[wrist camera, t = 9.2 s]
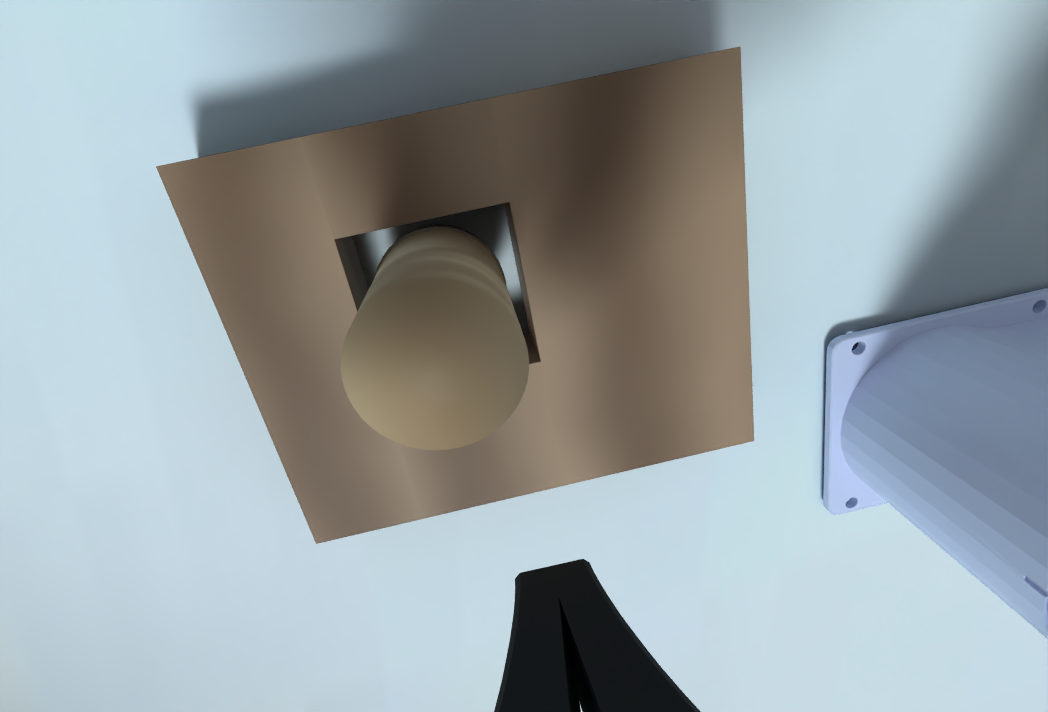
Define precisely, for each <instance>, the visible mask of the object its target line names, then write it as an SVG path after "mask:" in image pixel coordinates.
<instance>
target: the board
mask: <svg viewBox="0 0 1048 712" xmlns="http://www.w3.org/2000/svg"><path fill="white" fill-rule="evenodd" d="M156 168H157V170H158V172H159V175H160V177H161V179H162V182H163V184H164V186H165V189H166V191H167V193H168V196H169V198H170V200H171V203H172V205H173V208H174V210H175V212H176V215H177V217H178V219H179V222H180V224H181V226H182V229H183V231H184V233H185V236H186V238H187V240H188V243H189V245H190V248H191V250H192V252H193V255H194V257H195V259H196V262H197V264H198V266H199V269H200V271H201V273H202V276H203V278H204V281H205V283H206V285H207V288H208V290H209V292H210V295H211V297H212V299H213V302H214V304H215V306H216V309H217V311H218V313H219V316H220V318H221V321H222V323H223V325H224V328H225V330H226V332H227V335H228V337H229V339H230V342H231V344H232V346H233V349H234V351H235V354H236V356H237V358H238V361H239V363H240V365H241V368H242V370H243V372H244V375H245V377H246V379H247V382H248V384H249V386H250V389H251V391H252V394H253V396H254V398H255V401H256V403H257V405H258V408H259V410H260V412H261V415H262V417H263V419H264V422H265V424H266V427H267V429H268V431H269V434H270V436H271V438H272V441H273V443H274V445H275V448H276V450H277V452H278V455H279V457H280V459H281V462H282V464H283V467H284V469H285V471H286V474H287V476H288V478H289V481H290V483H291V485H292V488H293V490H294V492H295V495H296V497H297V500H298V502H299V504H300V507H301V509H302V511H303V514H304V516H305V518H306V521H307V523H308V525H309V528H310V530H311V532H312V535H313V537H314V540H315V542H316V544H318V543H322V542H326V541H330V540H335V539H339V538H343V537H347V536H352V535H356V534H360V533H364V532H369V531H373V530H377V529H381V528H386V527H390V526H394V525H398V524H403V523H407V522H411V521H415V520H420V519H424V518H428V517H432V516H437V515H441V514H445V513H449V512H454V511H458V510H462V509H466V508H471V507H475V506H479V505H483V504H488V503H492V502H496V501H500V500H505V499H509V498H513V497H517V496H522V495H526V494H530V493H534V492H539V491H543V490H547V489H551V488H556V487H560V486H564V485H568V484H573V483H577V482H581V481H585V480H590V479H594V478H598V477H602V476H607V475H611V474H615V473H619V472H624V471H628V470H632V469H636V468H641V467H645V466H649V465H653V464H658V463H662V462H666V461H670V460H675V459H679V458H683V457H687V456H692V455H696V454H700V453H704V452H709V451H713V450H717V449H721V448H726V447H730V446H734V445H738V444H743V443H747V442H751V441H754V423H753V394H752V366H751V337H750V308H749V280H748V251H747V222H746V194H745V165H744V136H743V108H742V79H741V50H740V47H736V48H731V49H726V50H721V51H716V52H711V53H707V54H702V55H697V56H692V57H687V58H682V59H677V60H673V61H668V62H663V63H658V64H653V65H648V66H643V67H638V68H634V69H629V70H624V71H619V72H614V73H609V74H604V75H600V76H595V77H590V78H585V79H580V80H575V81H570V82H565V83H561V84H556V85H551V86H546V87H541V88H536V89H531V90H526V91H522V92H517V93H512V94H507V95H502V96H497V97H492V98H488V99H483V100H478V101H473V102H468V103H463V104H458V105H453V106H449V107H444V108H439V109H434V110H429V111H424V112H419V113H415V114H410V115H405V116H400V117H395V118H390V119H385V120H380V121H376V122H371V123H366V124H361V125H356V126H351V127H346V128H342V129H337V130H332V131H327V132H322V133H317V134H312V135H307V136H303V137H298V138H293V139H288V140H283V141H278V142H273V143H268V144H264V145H259V146H254V147H249V148H244V149H239V150H234V151H230V152H225V153H220V154H215V155H210V156H205V157H200V158H195V159H191V160H186V161H181V162H176V163H171V164H166V165H161V166H157V167H156ZM502 203H504V206H505V211H506V216H507V221H508V226H509V231H510V236H511V241H512V246H513V251H514V256H515V261H516V266H517V271H518V276H519V281H520V286H521V291H522V296H523V301H524V306H525V311H526V316H527V322H528V327H529V332H530V334H528V335H523V336H524V338H525V342H526V346H527V349H528V357H529V374H528V381H527V385H526V388H525V391H524V394H523V396H522V398H521V401H520V403H519V404H518V406H517V408H516V409H515V411H514V412H513V413H512V415H511V416H510V417H509V418H508V420H507V421H506V422H505V423H504V424H502V425H501V426H500V427H499V428H498V429H497V430H495V431H494V432H493V433H491V434H490V435H488V436H486V437H485V438H483V439H481V440H479V441H477V442H474V443H472V444H470V445H466V446H463V447H459V448H454V449H448V450H423V449H417V448H412V447H408V446H405V445H401V444H399V443H396V442H394V441H392V440H390V439H388V438H386V437H384V436H383V435H381V434H379V433H378V432H377V431H375V430H374V429H373V428H371V427H370V426H369V425H368V424H367V423H366V422H365V421H364V420H363V419H362V418H361V417H360V415H359V414H358V413H357V412H356V410H355V409H354V407H353V405H352V404H351V402H350V400H349V398H348V396H347V394H346V391H345V388H344V385H343V381H342V375H341V353H342V347H343V343H344V340H345V337H346V334H347V332H348V330H349V328H350V326H351V324H352V322H353V320H354V318H355V316H356V314H357V312H358V310H359V308H360V306H361V304H362V302H363V300H364V298H365V296H366V294H367V292H368V290H369V287H368V284H367V281H366V278H365V274H364V271H363V268H362V265H361V261H360V258H359V255H358V252H357V248H356V245H355V242H354V239H353V235H357V234H362V233H367V232H371V231H376V230H381V229H385V228H390V227H395V226H399V225H404V224H409V223H413V222H418V221H423V220H428V219H432V218H437V217H442V216H446V215H451V214H456V213H460V212H465V211H470V210H474V209H479V208H484V207H488V206H493V205H498V204H502Z"/></svg>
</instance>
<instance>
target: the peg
mask: <svg viewBox="0 0 1048 712" xmlns="http://www.w3.org/2000/svg"><path fill="white" fill-rule="evenodd" d="M528 374H529V357H528V349H527V346H526V342H525V338H524V336H523V333H522V330H521V327H520V324H519V321H518V318H517V316H516V313H515V310H514V307H513V304H512V301H511V298H510V295H509V293H508V290H507V287H506V280H505V277H504V273H503V270H502V268H501V265H500V263H499V261H498V259H497V258H496V256H495V254H494V253H493V252H492V251H491V249H490V248H489V247H488V246H487V245H486V244H485V243H484V242H483V241H481V240H480V239H479V238H477V237H476V236H474V235H472V234H471V233H469V232H467V231H464V230H462V229H459V228H456V227H453V226H449V225H433V226H428V227H423V228H420V229H416V230H414V231H412V232H409V233H407V234H406V235H404V236H402V237H401V238H399V239H398V240H397V241H396V242H395V243H393V245H392V246H391V247H390V248H389V249H388V250H387V252H386V253H385V254H384V256H383V258H382V260H381V262H380V264H379V266H378V268H377V271H376V274H375V278H374V280H373V282H372V284H371V286H370V288H369V290H368V292H367V294H366V296H365V298H364V300H363V302H362V304H361V306H360V308H359V310H358V312H357V314H356V316H355V318H354V320H353V322H352V324H351V326H350V328H349V330H348V332H347V334H346V337H345V340H344V343H343V347H342V353H341V375H342V381H343V385H344V388H345V391H346V394H347V396H348V398H349V400H350V402H351V404H352V405H353V407H354V409H355V410H356V412H357V413H358V414H359V415H360V417H361V418H362V419H363V420H364V421H365V422H366V423H367V424H368V425H369V426H370V427H371V428H373V429H374V430H375V431H377V432H378V433H379V434H381V435H383V436H384V437H386V438H388V439H390V440H392V441H394V442H396V443H399V444H401V445H405V446H408V447H412V448H417V449H423V450H448V449H454V448H459V447H463V446H466V445H470V444H472V443H474V442H477V441H479V440H481V439H483V438H485V437H486V436H488V435H490V434H491V433H493V432H494V431H495V430H497V429H498V428H499V427H500V426H501V425H502V424H504V423H505V422H506V421H507V420H508V418H509V417H510V416H511V415H512V413H513V412H514V411H515V409H516V408H517V406H518V404H519V403H520V401H521V398H522V396H523V394H524V391H525V388H526V385H527V381H528Z"/></svg>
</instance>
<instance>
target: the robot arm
mask: <svg viewBox="0 0 1048 712" xmlns="http://www.w3.org/2000/svg"><path fill="white" fill-rule="evenodd" d="M1034 304H1035V306H1034ZM1033 306H1034V307H1033ZM857 342H859V343H858V346H857V348H856V349H855V350H853V351H852V348H853V346H854V344H855V343H857ZM848 499H850V500H849V501H847V500H848ZM846 501H847V502H846ZM885 503H889V504H890V505H891V506H893V507H894V508H895V509H896V510H897V511H898V512H900V513H901V514H902V515H903V516H904V517H905V518H907V519H908V520H909V521H910V522H911V523H912V524H914V525H915V526H916V527H917V528H918V529H919V530H921V531H922V532H923V533H924V534H925V535H926V536H928V537H929V538H930V539H931V540H932V541H934V542H935V543H936V544H937V545H938V546H939V547H941V548H942V549H943V550H944V551H945V552H946V553H948V554H949V555H950V556H951V557H952V558H953V559H955V560H956V561H957V562H958V563H959V564H960V565H962V566H963V567H964V568H965V569H966V570H967V571H969V572H970V573H971V574H972V575H973V576H974V577H976V578H977V579H978V580H979V581H980V582H982V583H983V584H984V585H985V586H986V587H987V588H989V589H990V590H991V591H992V592H993V593H994V594H996V595H997V596H998V597H999V598H1000V599H1001V600H1003V601H1004V602H1005V603H1006V604H1007V605H1008V606H1010V607H1011V608H1012V609H1013V610H1014V611H1015V612H1017V613H1018V614H1019V615H1020V616H1021V617H1023V618H1024V619H1025V620H1026V621H1027V622H1028V623H1030V624H1031V625H1032V626H1033V627H1034V628H1035V629H1037V630H1038V631H1039V632H1040V633H1041V634H1042V635H1044V636H1045V637H1046V638H1047V639H1048V288H1045V289H1041V290H1036V291H1032V292H1028V293H1023V294H1019V295H1014V296H1010V297H1006V298H1001V299H997V300H993V301H988V302H984V303H980V304H975V305H971V306H966V307H962V308H958V309H953V310H949V311H945V312H940V313H936V314H931V315H927V316H923V317H918V318H914V319H910V320H905V321H901V322H897V323H892V324H888V325H883V326H879V327H875V328H870V329H866V330H862V331H857V332H853V333H848V334H844V335H840V336H837V337H835V338H834V339H833V340H832V341H831V342H830V343H829V345H828V347H827V361H826V406H825V451H824V496H823V504H824V507H825V508H826V509H827V510H828V511H829V512H830V513H831V514H833V515H839V514H843V513H847V512H852V511H856V510H860V509H864V508H868V507H872V506H876V505H880V504H885ZM579 701H580V703H579ZM580 705H581V708H582V711H583V712H700V711H699V709H698V708H697V707H696V706H695V705H694V704H693V703H692V702H691V701H690V700H689V699H688V697H687V696H686V695H685V694H684V693H683V692H682V691H681V690H680V688H679V687H678V686H677V685H676V684H675V683H674V682H673V680H672V679H671V678H670V677H669V676H668V675H667V673H666V672H665V671H664V670H663V669H662V668H661V666H660V665H659V664H658V663H657V662H656V660H655V659H654V658H653V657H652V655H651V654H650V653H649V652H648V650H647V649H646V648H645V646H644V645H643V644H642V643H641V641H640V640H639V639H638V637H637V636H636V635H635V633H634V632H633V631H632V630H631V628H630V627H629V626H628V624H627V623H626V621H625V620H624V619H623V617H622V616H621V615H620V613H619V612H618V610H617V609H616V607H615V606H614V604H613V603H612V601H611V600H610V598H609V597H608V595H607V594H606V592H605V590H604V589H603V587H602V585H601V584H600V582H599V580H598V579H597V577H596V575H595V573H594V571H593V569H592V567H591V565H590V563H589V562H587V561H586V560H584V559H581V560H576V561H572V562H567V563H563V564H558V565H554V566H549V567H545V568H540V569H536V570H531V571H527V572H522V573H520V574H519V575H518V576H517V577H516V578H515V605H514V615H513V623H512V630H511V637H510V643H509V648H508V653H507V658H506V663H505V668H504V673H503V678H502V683H501V687H500V691H499V695H498V699H497V703H496V707H495V711H494V712H581V710H580Z"/></svg>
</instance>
